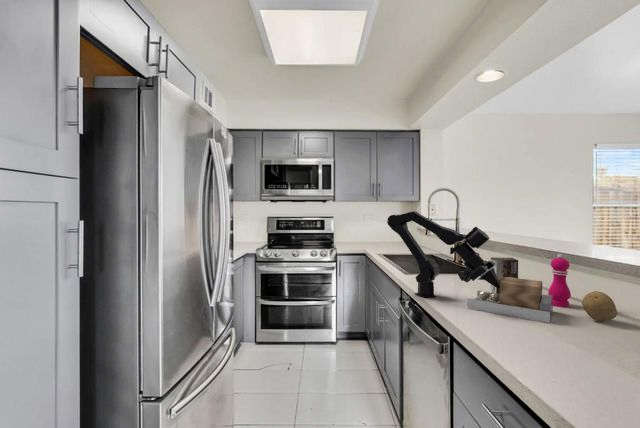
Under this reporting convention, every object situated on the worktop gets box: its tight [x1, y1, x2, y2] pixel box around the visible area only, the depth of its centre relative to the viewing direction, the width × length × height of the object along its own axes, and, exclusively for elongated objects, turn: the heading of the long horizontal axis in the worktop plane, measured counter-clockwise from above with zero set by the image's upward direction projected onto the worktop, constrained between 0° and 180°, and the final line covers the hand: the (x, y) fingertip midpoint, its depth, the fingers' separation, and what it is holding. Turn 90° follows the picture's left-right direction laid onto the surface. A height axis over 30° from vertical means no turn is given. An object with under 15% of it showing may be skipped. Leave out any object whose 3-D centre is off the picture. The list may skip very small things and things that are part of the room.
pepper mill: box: [547, 253, 572, 308], centre depth 131 cm, size 7×7×20 cm
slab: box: [500, 277, 543, 310], centre depth 122 cm, size 12×12×8 cm
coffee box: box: [489, 256, 519, 294], centre depth 145 cm, size 9×6×16 cm
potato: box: [581, 290, 618, 323], centre depth 113 cm, size 9×9×10 cm
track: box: [467, 290, 554, 324], centre depth 125 cm, size 26×16×6 cm, turn 52°
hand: (499, 288), depth 127 cm, fingers closed
